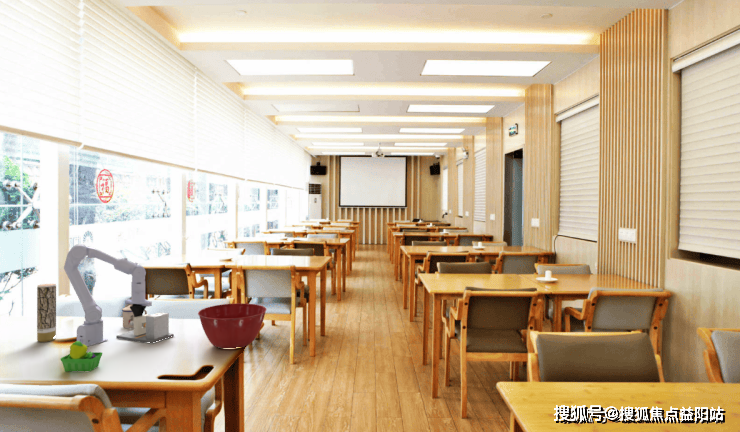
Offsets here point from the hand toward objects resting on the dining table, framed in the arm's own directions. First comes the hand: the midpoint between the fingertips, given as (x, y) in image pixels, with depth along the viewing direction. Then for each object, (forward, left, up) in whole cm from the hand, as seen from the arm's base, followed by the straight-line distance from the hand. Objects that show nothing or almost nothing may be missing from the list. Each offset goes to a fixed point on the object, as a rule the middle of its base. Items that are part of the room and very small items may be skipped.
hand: (138, 320), depth 200 cm
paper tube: (-20, +33, -8) cm, 39 cm away
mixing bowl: (+6, -49, -8) cm, 50 cm away
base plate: (0, -4, -7) cm, 9 cm away
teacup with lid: (+14, +19, -8) cm, 24 cm away
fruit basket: (-39, -17, -8) cm, 43 cm away
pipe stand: (0, -5, -6) cm, 8 cm away
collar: (0, -2, -6) cm, 6 cm away
